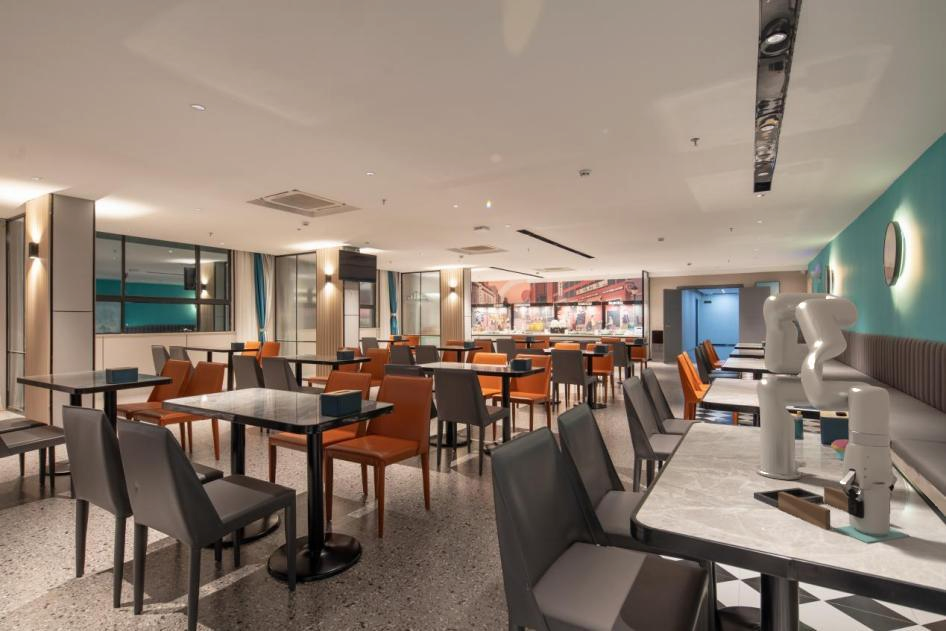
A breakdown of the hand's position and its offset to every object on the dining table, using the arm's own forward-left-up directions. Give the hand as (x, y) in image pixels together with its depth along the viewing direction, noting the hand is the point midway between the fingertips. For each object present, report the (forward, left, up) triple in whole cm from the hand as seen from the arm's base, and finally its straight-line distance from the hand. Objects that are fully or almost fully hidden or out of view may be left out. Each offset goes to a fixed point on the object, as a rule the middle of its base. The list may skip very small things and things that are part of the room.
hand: (869, 513), depth 116 cm
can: (0, 0, -4) cm, 4 cm away
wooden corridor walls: (0, -10, -4) cm, 11 cm away
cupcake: (-55, -48, -5) cm, 73 cm away
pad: (0, 0, -4) cm, 4 cm away
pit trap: (0, -22, -4) cm, 22 cm away
